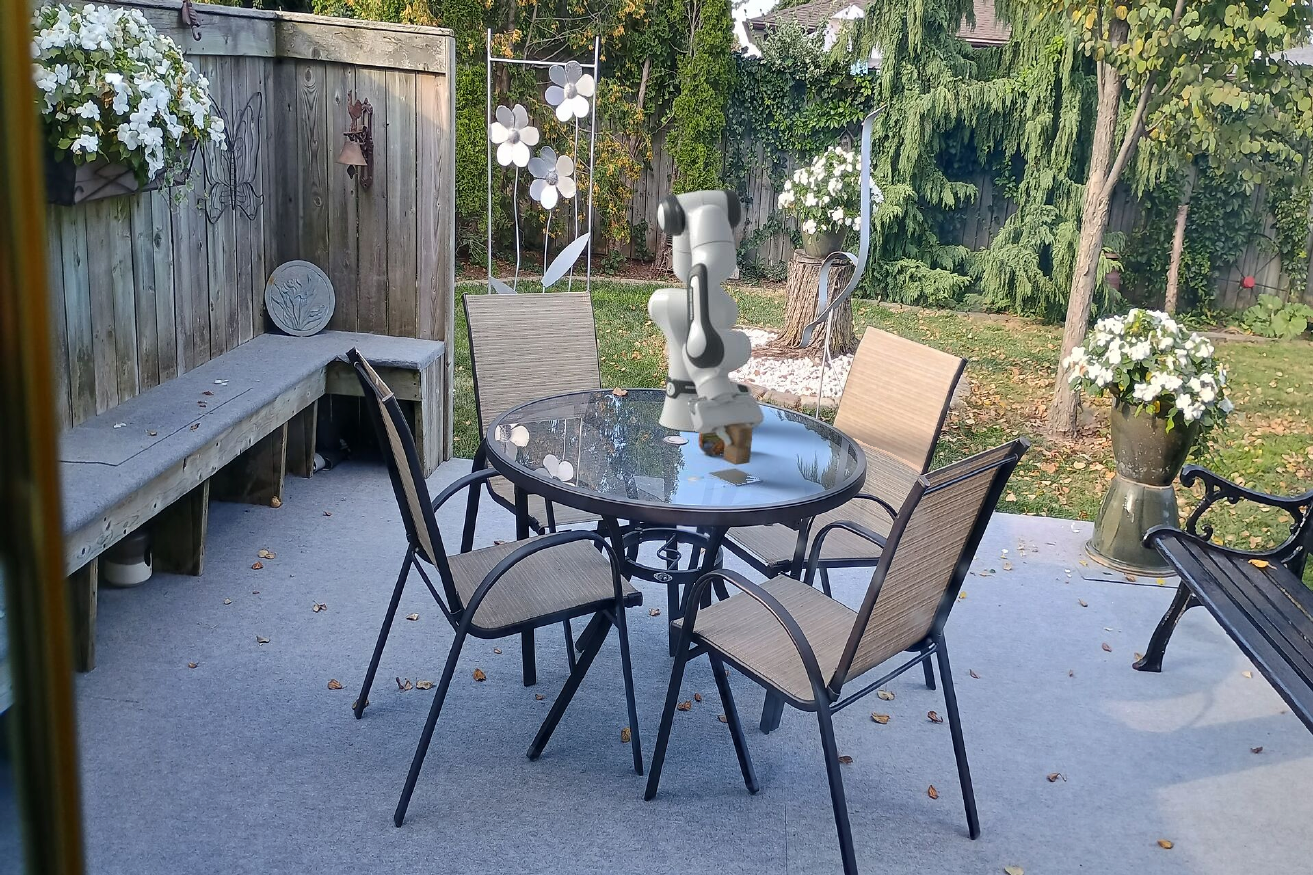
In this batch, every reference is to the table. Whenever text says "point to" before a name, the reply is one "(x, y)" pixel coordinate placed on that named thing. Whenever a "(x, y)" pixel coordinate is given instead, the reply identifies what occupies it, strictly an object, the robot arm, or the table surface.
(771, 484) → the table surface
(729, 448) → the walnut block
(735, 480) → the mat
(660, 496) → the table surface
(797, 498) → the table surface
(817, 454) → the table surface
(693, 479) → the placard
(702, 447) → the tin
